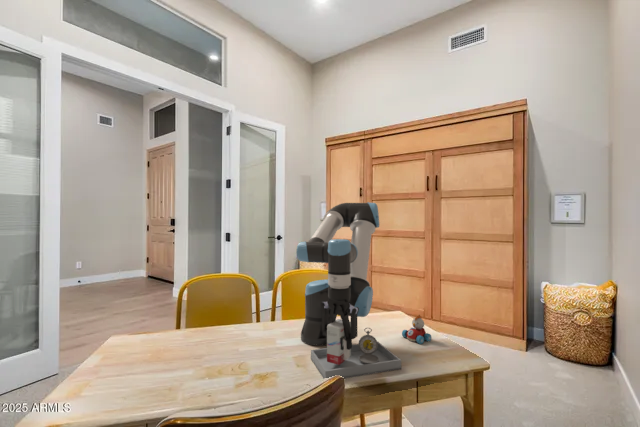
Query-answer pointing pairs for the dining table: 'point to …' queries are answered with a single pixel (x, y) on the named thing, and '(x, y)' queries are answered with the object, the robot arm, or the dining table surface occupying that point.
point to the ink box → (336, 342)
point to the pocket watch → (365, 341)
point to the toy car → (417, 331)
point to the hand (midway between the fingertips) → (339, 356)
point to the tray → (355, 363)
